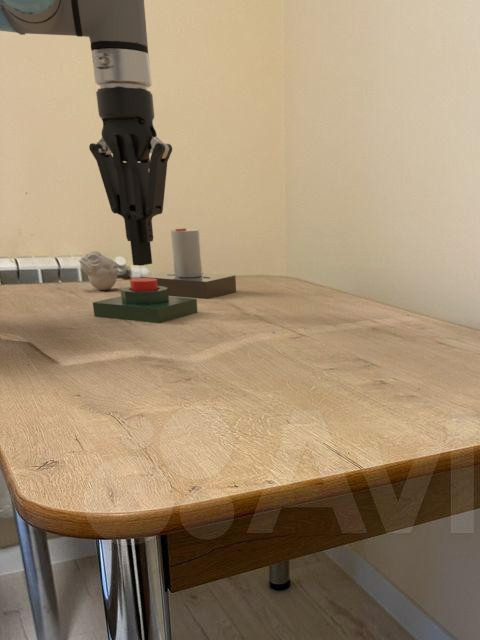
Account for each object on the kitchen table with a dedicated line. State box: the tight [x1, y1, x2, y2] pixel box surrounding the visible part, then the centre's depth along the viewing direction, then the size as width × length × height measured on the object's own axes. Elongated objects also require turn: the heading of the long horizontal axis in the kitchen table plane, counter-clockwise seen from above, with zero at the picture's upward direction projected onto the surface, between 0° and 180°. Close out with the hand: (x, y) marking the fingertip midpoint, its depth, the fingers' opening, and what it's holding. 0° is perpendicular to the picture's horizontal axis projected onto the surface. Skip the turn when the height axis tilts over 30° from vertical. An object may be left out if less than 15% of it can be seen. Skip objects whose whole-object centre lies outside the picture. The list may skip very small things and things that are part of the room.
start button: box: [129, 277, 158, 291], centre depth 109 cm, size 4×4×2 cm
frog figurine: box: [78, 250, 119, 291], centre depth 131 cm, size 6×7×7 cm
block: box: [92, 285, 199, 324], centre depth 110 cm, size 12×10×4 cm
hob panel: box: [139, 270, 237, 300], centre depth 131 cm, size 14×10×3 cm
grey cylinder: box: [170, 227, 203, 278], centre depth 129 cm, size 5×5×8 cm
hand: (142, 264), depth 108 cm, fingers closed
